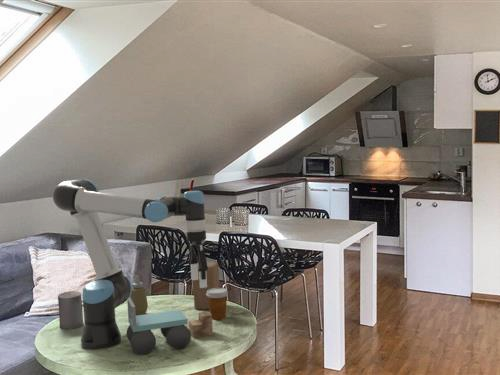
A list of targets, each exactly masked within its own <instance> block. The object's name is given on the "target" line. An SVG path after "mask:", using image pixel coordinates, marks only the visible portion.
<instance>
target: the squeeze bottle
mask: <svg viewBox="0 0 500 375" xmlns="http://www.w3.org/2000/svg"><path fill="white" fill-rule="evenodd" d="M139 276H140V275H138V274H135V277H134V282H133V283H132V282H131V284H132V293H131V295H130V297H129V298H131V300H132V302H133V304H134V305H135V311H136V316H137V315H144V314H147V311H148V308H149V306H148V305H149V304H148V299H147V298H148V297H147V293H146V288H145V287H144V283H143V282H141V280H140V277H139ZM131 310H132V309H131Z"/></svg>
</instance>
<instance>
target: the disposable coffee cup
mask: <svg viewBox="0 0 500 375" xmlns="http://www.w3.org/2000/svg"><path fill="white" fill-rule="evenodd" d="M206 295H207V298H208V304H209V309H208V310H209V313H210V314H211V315H212V321H213V320H214V321H220V320H224V319H225V318H226V316H227V315H226V314H227V303H228V302H227V301H228V300H227V299H228V295H229V292H228V290H227V288H224V287H219V288H213V289H209V290H207V293H206Z"/></svg>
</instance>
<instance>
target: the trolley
mask: <svg viewBox="0 0 500 375" xmlns="http://www.w3.org/2000/svg"><path fill="white" fill-rule="evenodd" d="M126 303H127V319H128V324H129V325H128V327H127V329H126V337H127V339H128V340H127V341H129V342H130V346H131V350H132V351H133V352H134V353H135V354H137V355H140V356H145V355H149V354H150V353H152V352H153V351H154V349H156V345H157V338H156V336H155V334H154V332H153V331H152V330H157V329H158V330H159V329H160V332H161V334H162V336H163V337H164V338H165V341H166V342H167V344H168V346H169V347H170V348H171V349H173V350H182V349H185V348H186V347H188V345H189V343H190V342H191V339H192V336H191V333H190V331H189V327H188V326H186V325H189V320H188V318H187V317H186V315H185V314H184V313H183V312H182V310H181V309H175V310H167V311H161V312H154V313H153V312H152V313H146V314H144V315H137V316H136V311H135V305H134V304H133V302H132V300H131V298H130V297H129V298H127V301H126ZM131 309H132V310H131Z"/></svg>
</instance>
